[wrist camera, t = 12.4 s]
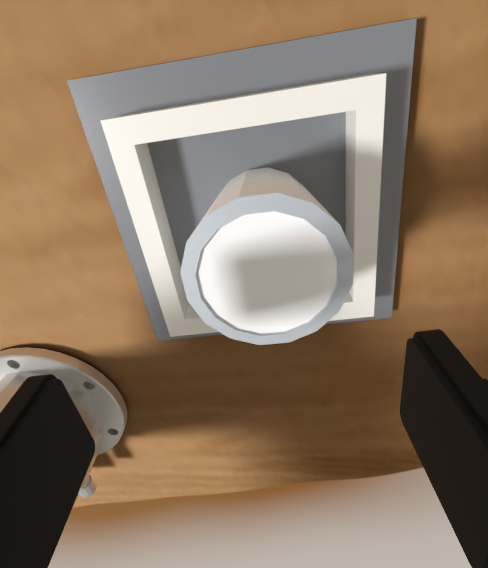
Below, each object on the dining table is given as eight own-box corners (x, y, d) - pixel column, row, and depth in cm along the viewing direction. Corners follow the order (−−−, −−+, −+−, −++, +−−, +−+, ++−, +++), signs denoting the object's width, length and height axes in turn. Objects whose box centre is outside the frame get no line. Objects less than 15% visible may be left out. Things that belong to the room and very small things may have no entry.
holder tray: (387, 310, 24) (402, 337, 21) (160, 333, 25) (150, 361, 23) (409, 20, 16) (437, 10, 13) (74, 80, 17) (45, 81, 15)
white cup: (183, 179, 19) (149, 227, 13) (308, 135, 17) (337, 165, 11) (227, 284, 22) (216, 361, 16) (335, 253, 21) (368, 325, 15)
